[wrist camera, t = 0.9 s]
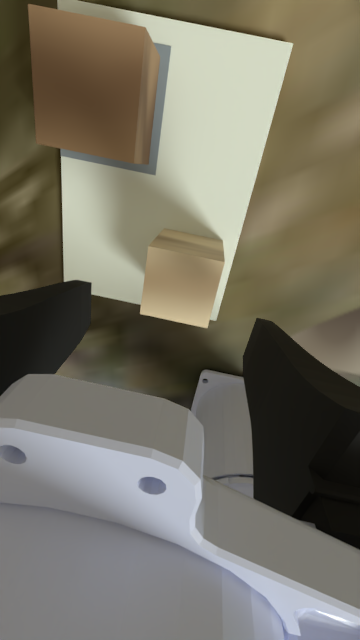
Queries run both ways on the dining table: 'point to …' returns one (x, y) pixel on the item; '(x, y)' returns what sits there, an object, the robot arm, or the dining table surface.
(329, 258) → the dining table surface
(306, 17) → the dining table surface
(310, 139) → the dining table surface
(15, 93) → the dining table surface
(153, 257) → the maple pillar
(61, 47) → the walnut base
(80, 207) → the cream flat slab
